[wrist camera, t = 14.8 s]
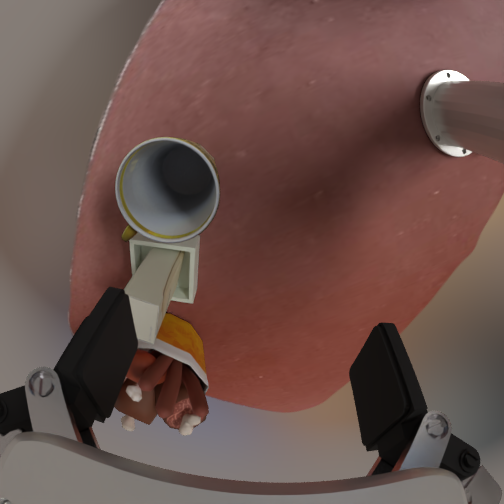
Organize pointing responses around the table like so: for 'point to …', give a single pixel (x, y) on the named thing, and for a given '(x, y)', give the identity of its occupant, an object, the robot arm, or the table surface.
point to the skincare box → (153, 290)
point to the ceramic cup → (167, 190)
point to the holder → (189, 266)
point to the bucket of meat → (166, 379)
